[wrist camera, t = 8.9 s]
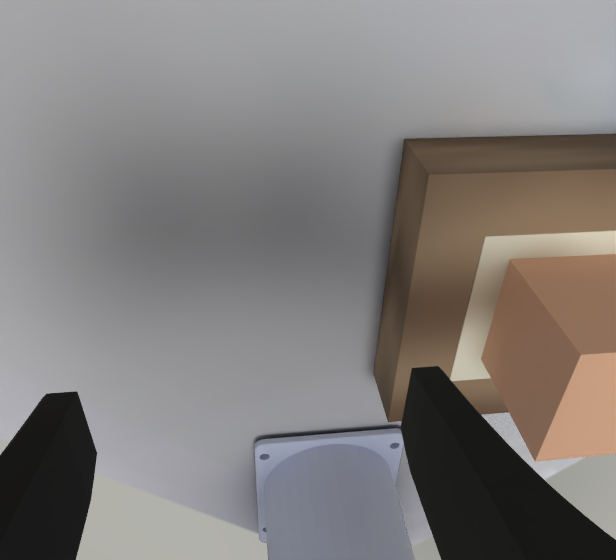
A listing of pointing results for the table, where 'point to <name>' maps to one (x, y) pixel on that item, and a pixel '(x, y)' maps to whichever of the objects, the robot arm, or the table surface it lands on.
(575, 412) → the cube
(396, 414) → the plinth
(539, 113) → the table surface
